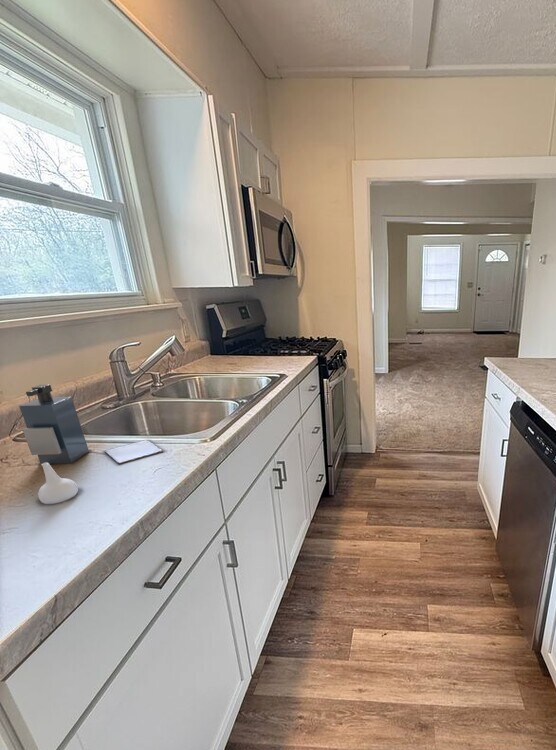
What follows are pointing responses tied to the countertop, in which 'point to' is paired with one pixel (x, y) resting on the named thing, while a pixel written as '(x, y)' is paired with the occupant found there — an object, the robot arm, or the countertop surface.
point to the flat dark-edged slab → (133, 451)
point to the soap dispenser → (56, 423)
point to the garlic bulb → (56, 487)
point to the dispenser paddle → (41, 440)
